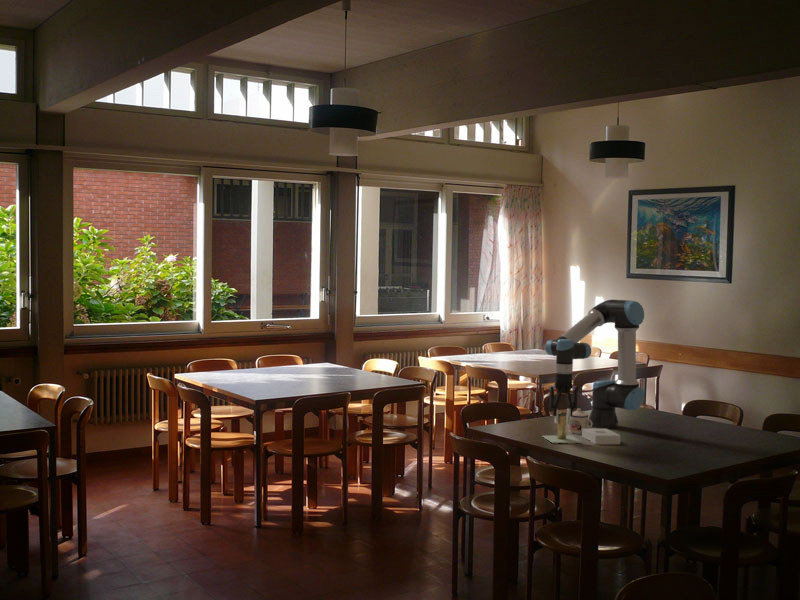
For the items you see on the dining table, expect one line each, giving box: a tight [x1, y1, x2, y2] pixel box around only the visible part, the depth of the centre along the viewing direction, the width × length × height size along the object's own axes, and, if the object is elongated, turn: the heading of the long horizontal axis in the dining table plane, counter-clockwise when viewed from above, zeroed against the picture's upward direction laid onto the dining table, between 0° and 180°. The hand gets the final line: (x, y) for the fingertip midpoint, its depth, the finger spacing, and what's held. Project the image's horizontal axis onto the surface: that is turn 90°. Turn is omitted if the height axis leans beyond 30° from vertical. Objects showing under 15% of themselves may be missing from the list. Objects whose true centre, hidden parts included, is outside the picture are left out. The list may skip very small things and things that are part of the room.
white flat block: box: [581, 428, 621, 445], centre depth 380 cm, size 16×12×4 cm
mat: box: [541, 434, 583, 444], centre depth 377 cm, size 14×14×1 cm
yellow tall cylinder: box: [556, 411, 567, 439], centre depth 377 cm, size 4×4×12 cm
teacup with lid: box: [568, 408, 593, 435], centre depth 396 cm, size 12×9×12 cm
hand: (562, 423), depth 377 cm, fingers open, 5 cm apart
